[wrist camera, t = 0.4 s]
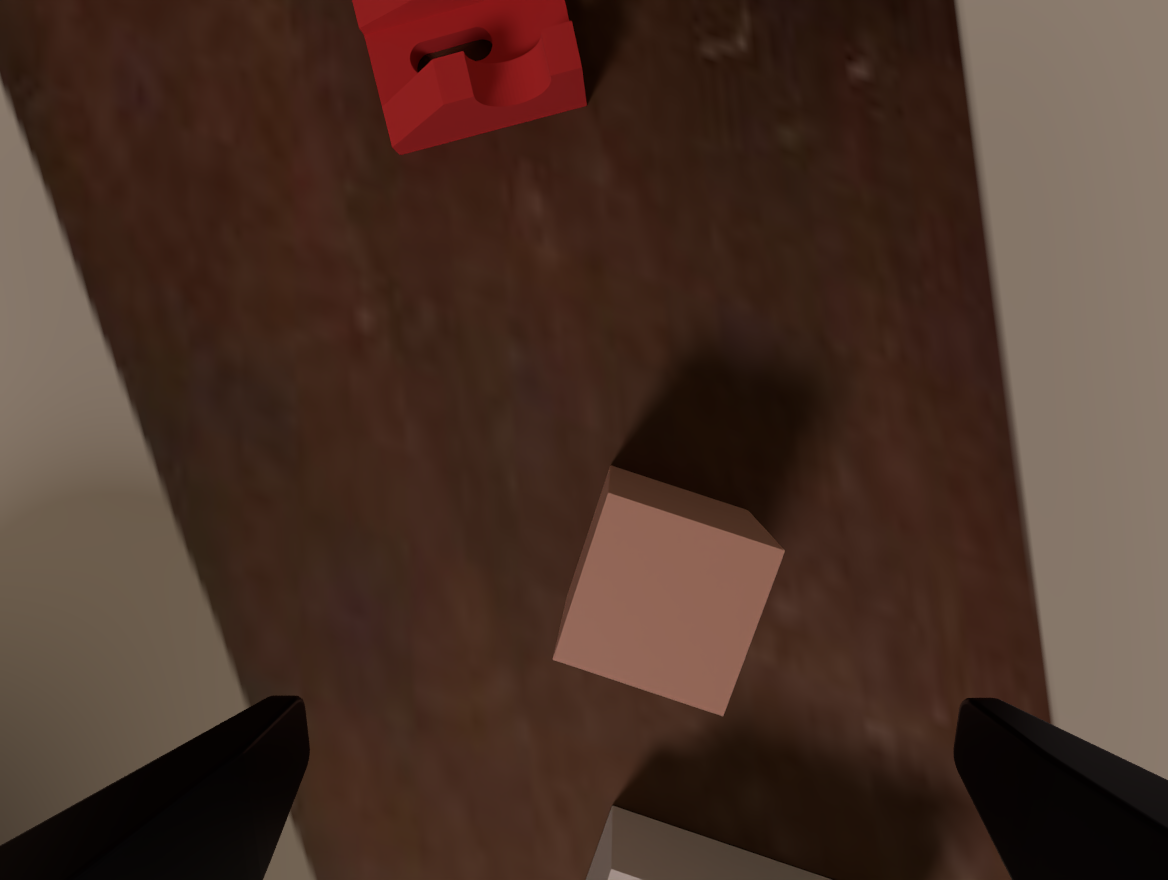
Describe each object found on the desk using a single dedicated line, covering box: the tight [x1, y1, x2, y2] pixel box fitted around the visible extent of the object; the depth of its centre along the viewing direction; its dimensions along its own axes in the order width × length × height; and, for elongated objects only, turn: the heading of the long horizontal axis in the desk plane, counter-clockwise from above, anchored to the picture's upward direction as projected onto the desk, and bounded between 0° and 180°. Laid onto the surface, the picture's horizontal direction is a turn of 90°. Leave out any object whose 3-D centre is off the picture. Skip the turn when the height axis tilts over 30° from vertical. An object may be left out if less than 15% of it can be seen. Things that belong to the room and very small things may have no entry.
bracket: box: [352, 0, 587, 155], centre depth 20 cm, size 6×5×3 cm
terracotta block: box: [553, 465, 785, 716], centre depth 20 cm, size 5×5×5 cm
